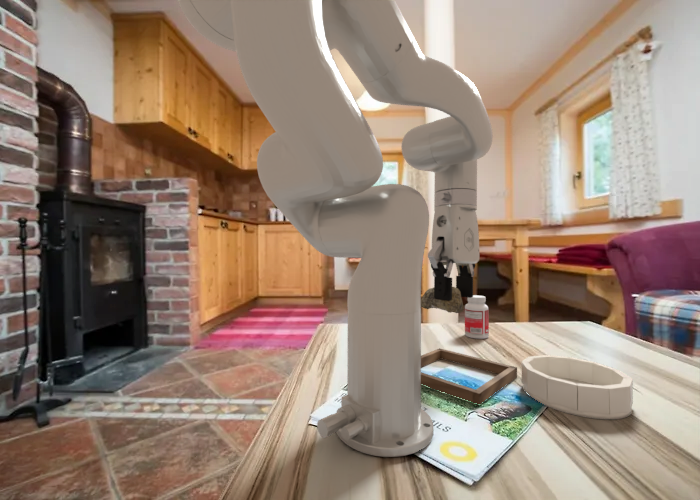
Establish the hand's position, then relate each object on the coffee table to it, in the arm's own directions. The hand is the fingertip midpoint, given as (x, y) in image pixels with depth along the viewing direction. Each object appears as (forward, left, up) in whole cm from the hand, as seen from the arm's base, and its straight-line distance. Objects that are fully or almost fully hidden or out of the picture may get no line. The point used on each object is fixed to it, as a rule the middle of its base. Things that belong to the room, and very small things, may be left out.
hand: (454, 297), depth 58 cm
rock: (0, +2, -3) cm, 4 cm away
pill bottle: (+32, +10, -15) cm, 36 cm away
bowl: (+7, -17, -15) cm, 23 cm away
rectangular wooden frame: (+1, 0, -15) cm, 15 cm away
